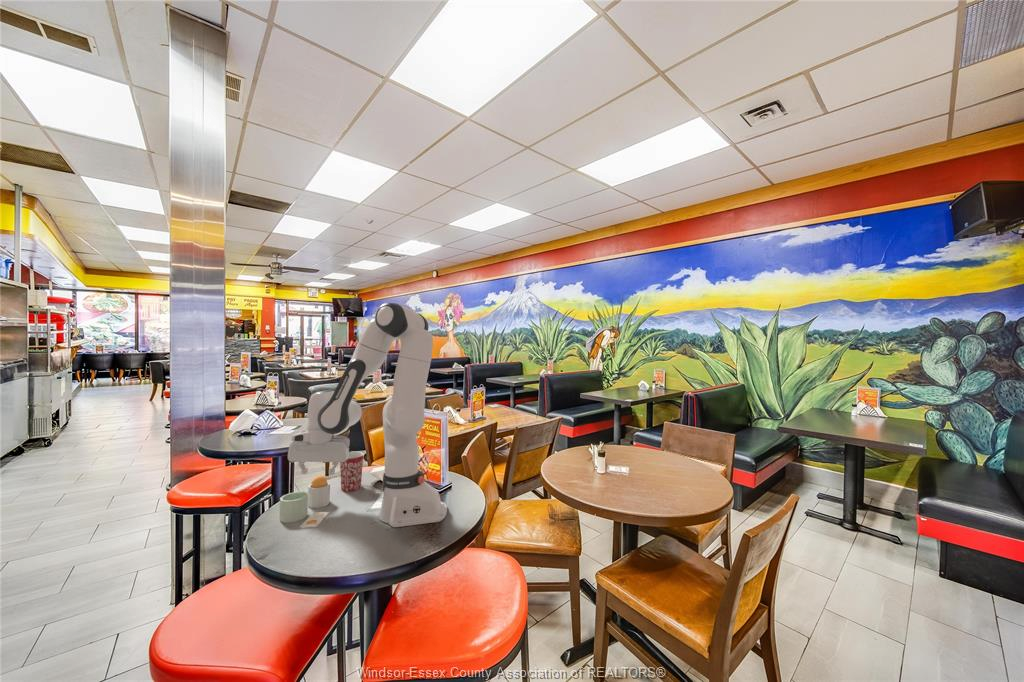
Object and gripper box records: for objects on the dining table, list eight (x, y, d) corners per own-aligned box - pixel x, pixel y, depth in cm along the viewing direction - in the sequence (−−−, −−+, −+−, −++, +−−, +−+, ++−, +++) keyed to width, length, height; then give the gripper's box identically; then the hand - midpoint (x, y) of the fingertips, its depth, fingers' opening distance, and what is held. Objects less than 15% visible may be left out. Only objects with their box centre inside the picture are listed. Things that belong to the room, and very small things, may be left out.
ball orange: (329, 487, 136) (329, 473, 136) (323, 492, 131) (323, 478, 131) (314, 487, 135) (315, 473, 135) (308, 492, 130) (309, 478, 130)
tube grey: (332, 499, 136) (332, 481, 137) (324, 507, 130) (325, 488, 130) (312, 500, 136) (313, 481, 136) (304, 508, 129) (304, 488, 129)
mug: (356, 493, 143) (357, 458, 143) (334, 492, 143) (334, 457, 144) (371, 481, 155) (371, 449, 156) (350, 480, 156) (350, 448, 156)
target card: (329, 513, 125) (329, 511, 125) (316, 527, 115) (316, 525, 115) (313, 513, 125) (313, 512, 125) (299, 528, 115) (299, 526, 115)
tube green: (311, 511, 127) (311, 491, 127) (300, 522, 119) (300, 500, 119) (287, 512, 126) (287, 492, 126) (274, 523, 118) (275, 501, 118)
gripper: (352, 433, 138) (350, 471, 137) (295, 432, 136) (293, 470, 135) (346, 437, 131) (344, 476, 131) (286, 436, 129) (284, 476, 129)
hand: (318, 473), depth 133 cm, fingers open, 8 cm apart
